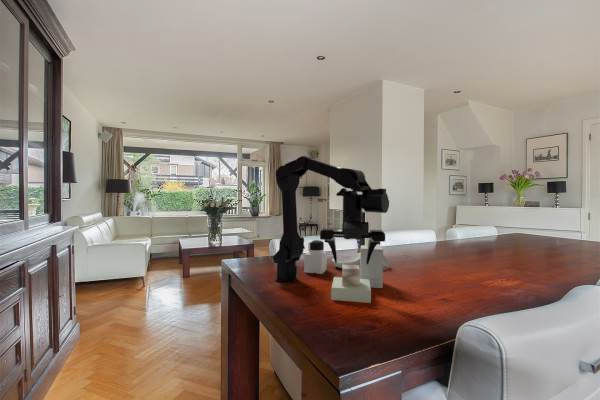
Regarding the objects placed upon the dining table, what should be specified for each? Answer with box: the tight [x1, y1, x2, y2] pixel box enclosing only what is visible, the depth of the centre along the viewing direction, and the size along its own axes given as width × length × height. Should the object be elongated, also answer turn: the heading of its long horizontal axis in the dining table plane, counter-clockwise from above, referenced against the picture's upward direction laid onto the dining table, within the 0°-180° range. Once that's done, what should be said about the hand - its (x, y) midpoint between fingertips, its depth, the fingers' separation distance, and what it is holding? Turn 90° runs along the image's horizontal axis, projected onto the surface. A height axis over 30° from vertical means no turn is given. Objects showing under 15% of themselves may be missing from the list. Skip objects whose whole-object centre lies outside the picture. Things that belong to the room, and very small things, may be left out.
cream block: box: [341, 264, 360, 286], centre depth 89 cm, size 5×5×5 cm
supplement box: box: [359, 244, 384, 289], centre depth 100 cm, size 7×7×13 cm
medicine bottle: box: [303, 239, 328, 275], centre depth 115 cm, size 7×7×12 cm
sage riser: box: [330, 276, 372, 304], centre depth 89 cm, size 11×11×4 cm
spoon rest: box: [331, 252, 390, 269], centre depth 123 cm, size 24×12×7 cm, turn 97°
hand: (351, 263), depth 89 cm, fingers open, 9 cm apart
